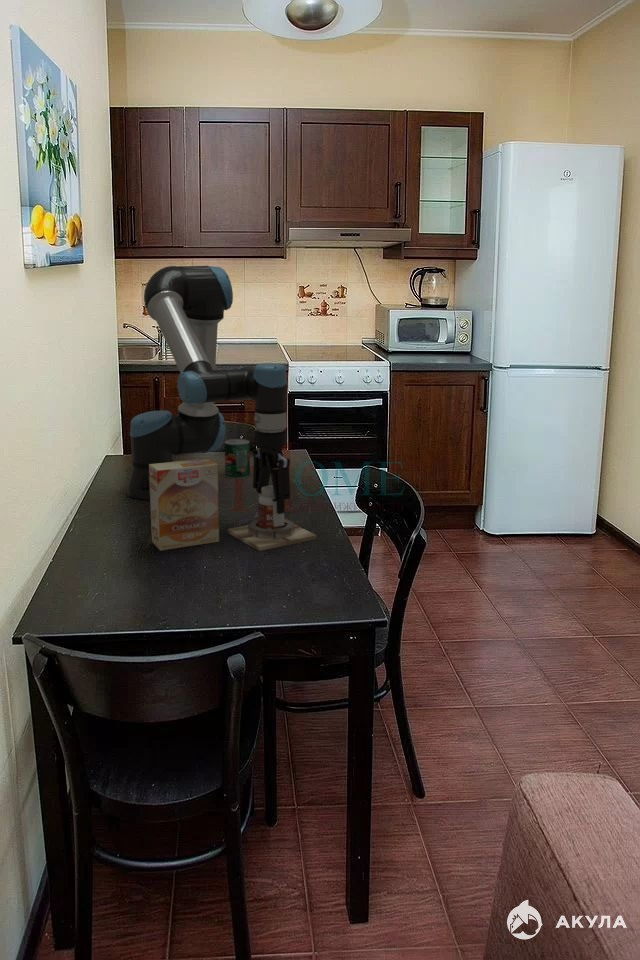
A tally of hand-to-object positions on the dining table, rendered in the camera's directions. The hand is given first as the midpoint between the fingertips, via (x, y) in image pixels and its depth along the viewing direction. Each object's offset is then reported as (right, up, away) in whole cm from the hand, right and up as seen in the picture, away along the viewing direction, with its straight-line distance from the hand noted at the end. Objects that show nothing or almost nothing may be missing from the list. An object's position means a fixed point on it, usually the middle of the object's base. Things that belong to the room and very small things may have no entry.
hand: (271, 521), depth 207 cm
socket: (0, -4, +1) cm, 4 cm away
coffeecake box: (-20, -5, -4) cm, 21 cm away
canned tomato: (-14, +11, +58) cm, 61 cm away
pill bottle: (0, -3, +1) cm, 3 cm away
